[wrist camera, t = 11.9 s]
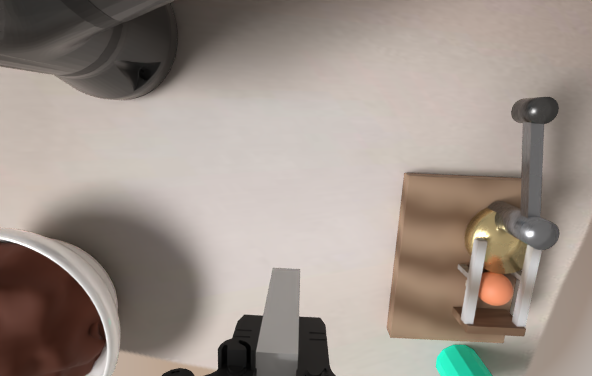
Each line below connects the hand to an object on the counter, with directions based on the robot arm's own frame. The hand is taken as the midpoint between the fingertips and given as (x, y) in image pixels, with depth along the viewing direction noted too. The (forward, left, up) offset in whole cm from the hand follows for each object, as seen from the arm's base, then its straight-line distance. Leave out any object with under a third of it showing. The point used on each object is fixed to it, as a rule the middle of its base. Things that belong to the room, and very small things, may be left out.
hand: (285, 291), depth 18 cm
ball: (+10, +25, -22) cm, 35 cm away
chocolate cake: (+16, -32, -25) cm, 43 cm away
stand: (+8, +21, -24) cm, 33 cm away
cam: (-2, +25, -22) cm, 33 cm away
